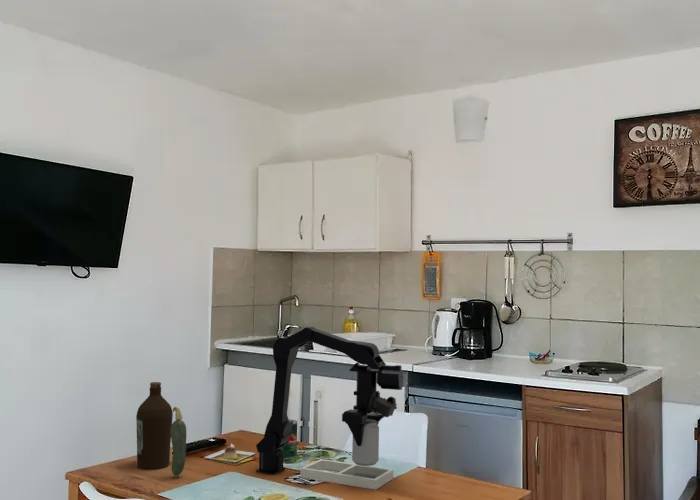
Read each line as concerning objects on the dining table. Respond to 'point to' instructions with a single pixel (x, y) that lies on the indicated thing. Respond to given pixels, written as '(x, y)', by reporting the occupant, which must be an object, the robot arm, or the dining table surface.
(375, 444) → the can
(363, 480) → the organizer
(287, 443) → the canned tomato
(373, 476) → the mat
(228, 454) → the dessert
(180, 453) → the vegetable
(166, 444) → the olive oil
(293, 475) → the dining table surface
